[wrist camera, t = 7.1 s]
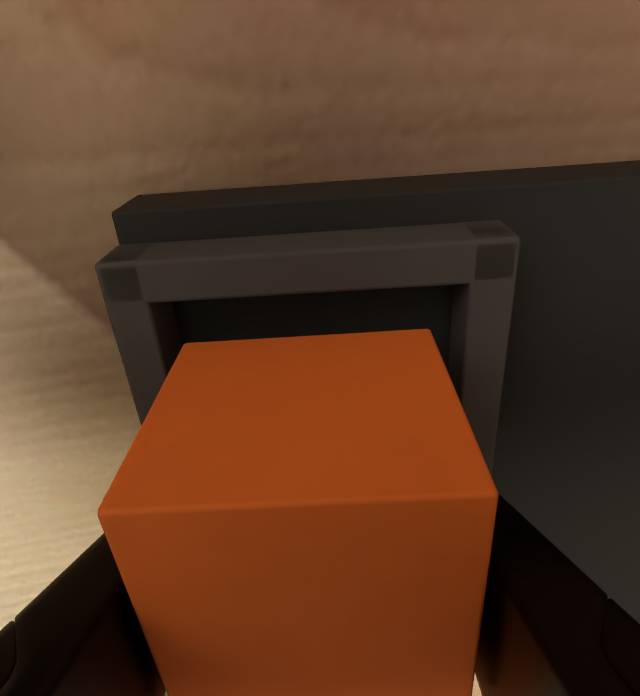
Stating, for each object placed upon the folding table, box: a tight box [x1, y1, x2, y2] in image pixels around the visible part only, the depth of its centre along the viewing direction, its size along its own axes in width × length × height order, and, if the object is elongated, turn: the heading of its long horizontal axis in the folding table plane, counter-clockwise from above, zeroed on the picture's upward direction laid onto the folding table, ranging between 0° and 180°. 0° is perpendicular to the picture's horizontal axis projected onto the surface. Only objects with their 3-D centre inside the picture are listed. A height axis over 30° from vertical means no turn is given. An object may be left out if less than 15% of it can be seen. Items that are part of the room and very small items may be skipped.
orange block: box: [98, 329, 498, 696], centre depth 8 cm, size 4×5×4 cm
